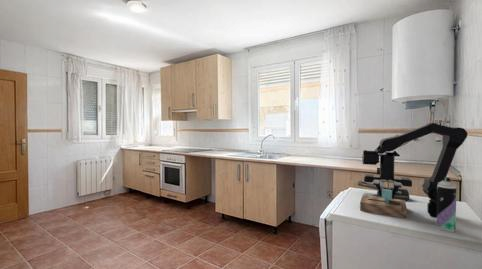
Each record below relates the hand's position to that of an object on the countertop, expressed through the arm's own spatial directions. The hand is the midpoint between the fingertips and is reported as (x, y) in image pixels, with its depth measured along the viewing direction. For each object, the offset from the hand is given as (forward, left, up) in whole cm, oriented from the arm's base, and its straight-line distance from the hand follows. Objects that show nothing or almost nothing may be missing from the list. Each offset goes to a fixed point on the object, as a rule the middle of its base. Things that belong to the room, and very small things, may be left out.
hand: (386, 198), depth 109 cm
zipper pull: (+2, -24, -6) cm, 24 cm away
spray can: (-19, +11, -6) cm, 23 cm away
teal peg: (0, 0, -5) cm, 5 cm away
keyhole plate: (+2, 0, -6) cm, 6 cm away
